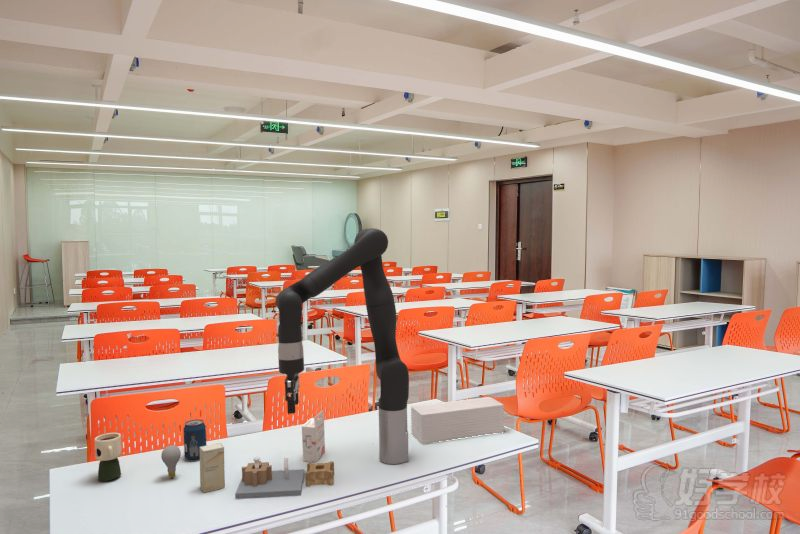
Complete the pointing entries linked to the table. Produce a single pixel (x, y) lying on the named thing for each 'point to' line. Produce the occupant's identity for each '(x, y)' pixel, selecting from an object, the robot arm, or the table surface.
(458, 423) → the stack of papers
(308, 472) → the oak gear
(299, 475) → the gear board
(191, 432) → the soda can
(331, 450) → the table surface
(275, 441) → the table surface
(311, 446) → the ink cartridge box
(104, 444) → the character mug
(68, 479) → the table surface
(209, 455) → the skincare box
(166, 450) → the light bulb
